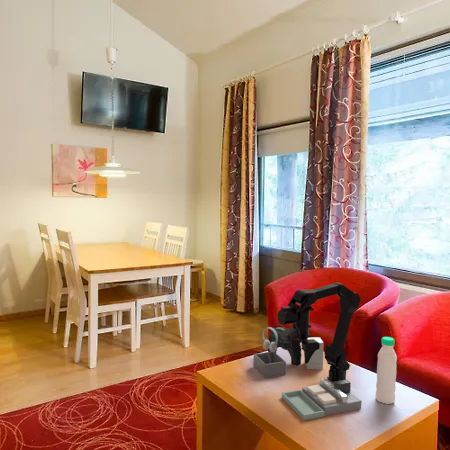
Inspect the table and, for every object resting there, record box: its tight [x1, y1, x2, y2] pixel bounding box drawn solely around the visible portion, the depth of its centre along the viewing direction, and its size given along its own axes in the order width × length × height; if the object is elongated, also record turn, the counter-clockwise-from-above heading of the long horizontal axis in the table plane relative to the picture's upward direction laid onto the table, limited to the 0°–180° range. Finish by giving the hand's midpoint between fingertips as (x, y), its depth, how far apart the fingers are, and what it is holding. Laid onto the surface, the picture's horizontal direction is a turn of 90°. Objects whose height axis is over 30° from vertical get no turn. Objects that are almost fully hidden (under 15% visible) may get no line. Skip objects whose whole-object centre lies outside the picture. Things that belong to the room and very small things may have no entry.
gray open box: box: [253, 351, 287, 379], centre depth 183 cm, size 10×12×6 cm
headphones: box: [261, 326, 278, 364], centre depth 182 cm, size 8×4×20 cm, turn 46°
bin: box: [281, 389, 326, 421], centre depth 153 cm, size 8×17×2 cm, turn 20°
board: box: [301, 382, 362, 416], centre depth 157 cm, size 16×16×3 cm
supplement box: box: [304, 337, 325, 370], centre depth 188 cm, size 7×7×13 cm
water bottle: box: [375, 336, 398, 405], centre depth 157 cm, size 7×7×25 cm
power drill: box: [267, 324, 303, 367], centre depth 194 cm, size 20×6×20 cm, turn 43°
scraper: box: [319, 378, 351, 403], centre depth 158 cm, size 8×15×4 cm, turn 20°
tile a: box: [306, 384, 325, 395], centre depth 158 cm, size 5×5×1 cm
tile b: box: [317, 393, 336, 404], centre depth 152 cm, size 5×5×1 cm
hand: (300, 358), depth 165 cm, fingers open, 9 cm apart
